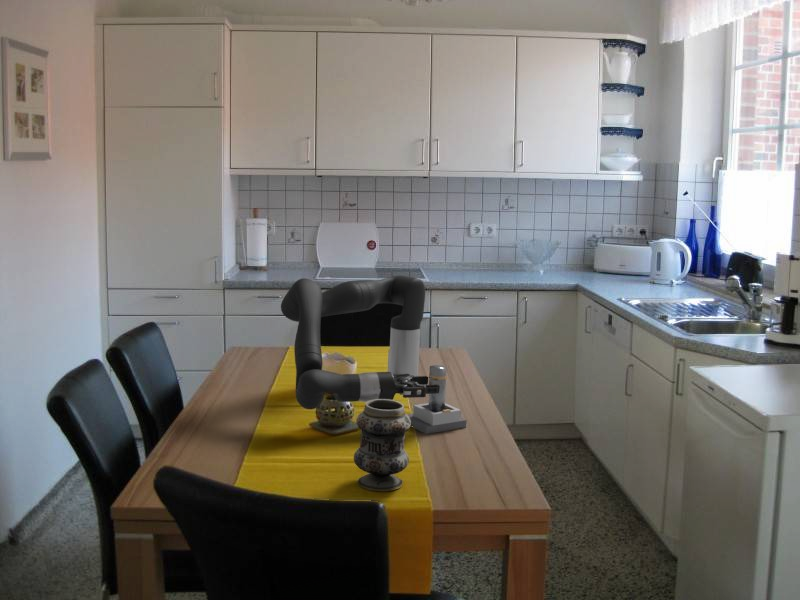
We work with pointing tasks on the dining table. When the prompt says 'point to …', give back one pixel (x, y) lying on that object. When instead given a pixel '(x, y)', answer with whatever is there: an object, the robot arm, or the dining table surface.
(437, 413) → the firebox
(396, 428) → the apothecary jar
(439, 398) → the metal canister
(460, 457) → the dining table surface
